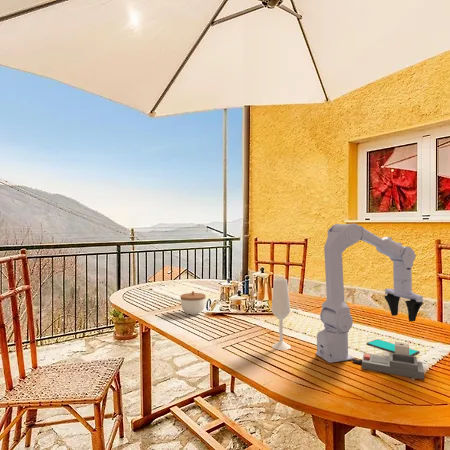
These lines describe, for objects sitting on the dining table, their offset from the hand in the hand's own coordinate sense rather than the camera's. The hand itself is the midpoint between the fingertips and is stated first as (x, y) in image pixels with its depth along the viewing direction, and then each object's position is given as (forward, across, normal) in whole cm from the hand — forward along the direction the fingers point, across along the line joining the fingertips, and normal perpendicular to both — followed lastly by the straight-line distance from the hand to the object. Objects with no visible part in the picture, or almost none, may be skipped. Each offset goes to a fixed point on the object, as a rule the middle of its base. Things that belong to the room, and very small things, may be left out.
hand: (403, 318), depth 114 cm
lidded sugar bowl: (+10, +69, +62) cm, 93 cm away
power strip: (+10, -12, +19) cm, 25 cm away
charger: (+10, -9, +10) cm, 17 cm away
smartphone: (+11, 0, +5) cm, 12 cm away
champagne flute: (+10, +14, +41) cm, 45 cm away
